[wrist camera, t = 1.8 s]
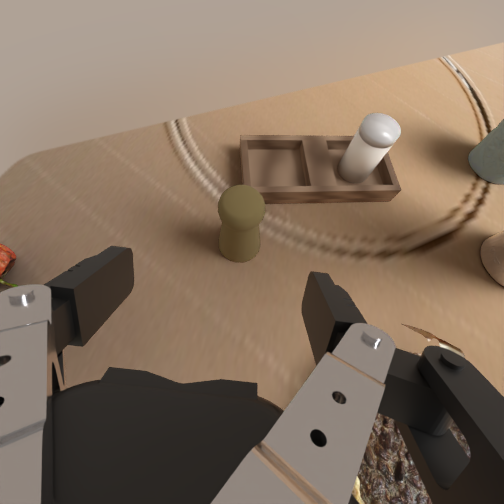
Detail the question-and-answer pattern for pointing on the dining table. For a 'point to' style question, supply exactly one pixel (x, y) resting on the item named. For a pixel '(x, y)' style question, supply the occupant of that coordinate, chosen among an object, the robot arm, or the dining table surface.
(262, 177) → the cruet caddy
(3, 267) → the pomegranate
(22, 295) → the robot arm
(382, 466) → the pie
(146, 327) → the dining table surface
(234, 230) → the olive mushroom knob
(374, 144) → the salt shaker
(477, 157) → the teal cup
